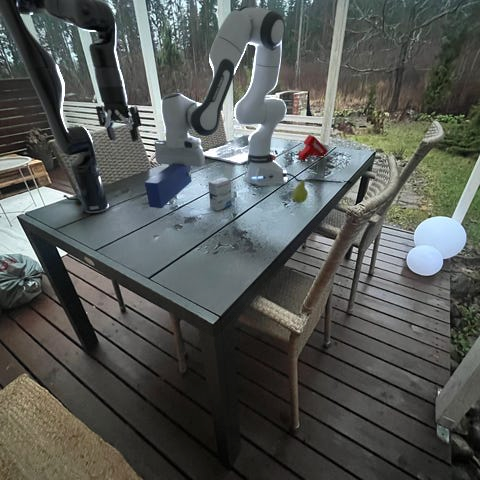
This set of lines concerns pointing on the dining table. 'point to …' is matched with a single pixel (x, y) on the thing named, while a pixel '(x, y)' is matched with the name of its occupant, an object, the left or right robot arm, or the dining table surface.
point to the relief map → (229, 153)
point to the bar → (166, 185)
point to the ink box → (220, 193)
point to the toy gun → (312, 148)
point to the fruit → (300, 192)
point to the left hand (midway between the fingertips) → (124, 140)
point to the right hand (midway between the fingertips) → (182, 175)
